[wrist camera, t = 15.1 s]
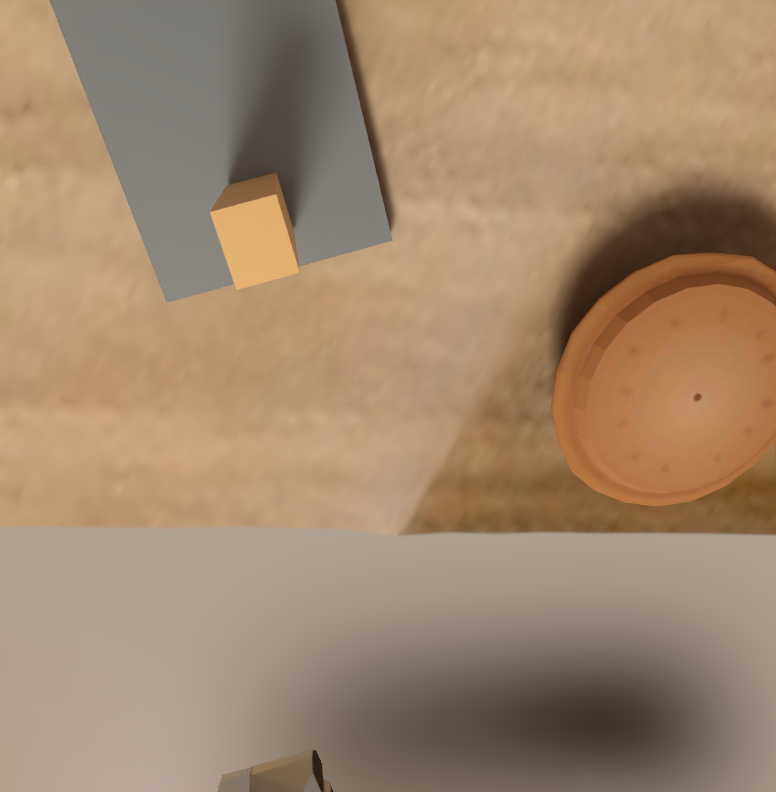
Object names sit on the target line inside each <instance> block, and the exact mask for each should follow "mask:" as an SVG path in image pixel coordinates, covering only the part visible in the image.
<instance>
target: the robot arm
mask: <svg viewBox="0 0 776 792" xmlns="http://www.w3.org/2000/svg"><path fill="white" fill-rule="evenodd" d="M218 792H333V789H332V787H331V784H330V782H328V781H326V780H324V779H323V768H322V762H321V760H320V758H319V755H318V753H317V751H316V750H311V751H307V752H303V753H300V754H296V755H292V756H289V757H285V758H281V759H278V760H274V761H270V762H267V763H263V764H259V765H256V766H253V767H250V768H246V769H243V770H239V771H236V772H232V773H228V774H225V775H223V776H222V778H221V781H220V783H219V786H218Z"/></svg>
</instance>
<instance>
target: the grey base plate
mask: <svg viewBox="0 0 776 792" xmlns="http://www.w3.org/2000/svg"><path fill="white" fill-rule="evenodd" d="M50 3H51V5H52V8H53V10H54V13H55V15H56V18H57V21H58V23H59V26H60V28H61V31H62V33H63V36H64V39H65V41H66V44H67V46H68V49H69V51H70V54H71V57H72V59H73V62H74V64H75V67H76V70H77V72H78V75H79V77H80V80H81V82H82V85H83V88H84V90H85V93H86V95H87V98H88V100H89V103H90V106H91V108H92V111H93V113H94V116H95V118H96V121H97V124H98V126H99V129H100V131H101V134H102V137H103V139H104V142H105V144H106V147H107V149H108V152H109V155H110V157H111V160H112V162H113V165H114V167H115V170H116V173H117V175H118V178H119V180H120V183H121V185H122V188H123V191H124V193H125V196H126V198H127V201H128V204H129V206H130V209H131V211H132V214H133V216H134V219H135V222H136V224H137V227H138V229H139V232H140V234H141V237H142V240H143V242H144V245H145V247H146V250H147V252H148V255H149V258H150V260H151V263H152V265H153V268H154V271H155V273H156V276H157V278H158V281H159V283H160V286H161V289H162V291H163V294H164V296H165V299H166V301H167V302H171V301H174V300H178V299H182V298H185V297H189V296H192V295H196V294H200V293H203V292H207V291H211V290H214V289H218V288H222V287H225V286H229V285H232V284H234V281H233V279H232V276H231V273H230V270H229V267H228V264H227V261H226V258H225V255H224V252H223V249H222V246H221V243H220V240H219V238H218V235H217V232H216V229H215V226H214V223H213V220H212V217H211V214H210V211H211V209H212V208H213V206H214V205H215V203H216V201H217V200H218V198H219V196H220V195H221V193H222V192H223V190H224V188H225V187H226V186H227V185H231V184H234V183H238V182H242V181H246V180H249V179H253V178H257V177H260V176H264V175H268V174H272V173H275V172H276V173H277V176H278V179H279V183H280V186H281V190H282V193H283V196H284V200H285V203H286V206H287V210H288V213H289V217H290V220H291V223H292V227H293V230H294V234H295V242H296V249H297V256H298V264H299V266H302V265H305V264H309V263H312V262H316V261H320V260H323V259H327V258H331V257H334V256H338V255H342V254H345V253H349V252H352V251H356V250H360V249H363V248H367V247H371V246H374V245H378V244H382V243H385V242H389V241H392V236H391V232H390V228H389V224H388V220H387V215H386V211H385V207H384V203H383V199H382V194H381V190H380V186H379V182H378V177H377V173H376V169H375V165H374V161H373V156H372V152H371V148H370V144H369V140H368V135H367V131H366V127H365V123H364V119H363V114H362V110H361V106H360V102H359V97H358V93H357V89H356V85H355V81H354V76H353V72H352V68H351V64H350V60H349V55H348V51H347V47H346V43H345V39H344V34H343V30H342V26H341V22H340V17H339V13H338V9H337V5H336V1H335V0H50Z"/></svg>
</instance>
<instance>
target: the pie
mask: <svg viewBox="0 0 776 792" xmlns="http://www.w3.org/2000/svg"><path fill="white" fill-rule="evenodd" d="M551 410H552V415H553V420H554V424H555V429H556V434H557V439H558V443H559V445H560V447H561V450H562V452H563V454H564V456H565V458H566V461H567V463H568V465H569V467H570V470H571V471H572V472H573V473H574V474H575V475H577V476H578V477H579V478H580V479H581V480H583V481H584V482H585V483H586V484H587V485H589V486H590V487H591V488H592V489H593V490H595V491H597V492H600V493H602V494H605V495H608V496H610V497H613V498H615V499H618V500H621V501H623V502H628V503H636V504H643V505H651V506H662V505H669V504H675V503H681V502H688V501H693V500H695V499H697V498H700V497H702V496H704V495H706V494H709V493H711V492H713V491H715V490H718V489H720V488H722V487H725V486H726V485H727V484H729V483H730V482H731V481H733V480H734V479H735V478H737V477H738V476H739V475H741V474H742V473H743V472H745V471H746V470H747V469H749V468H750V467H751V466H753V465H754V464H755V463H756V462H757V461H758V460H759V459H760V458H761V457H762V456H763V455H764V454H765V453H766V452H767V451H768V450H769V449H770V448H771V447H772V446H773V445H774V444H775V443H776V271H774V270H773V269H771V268H770V267H768V266H767V265H765V264H764V263H762V262H760V261H759V260H757V259H756V258H754V257H753V256H746V255H736V254H726V253H715V252H710V253H694V254H678V255H671V256H669V257H667V258H664V259H662V260H660V261H657V262H655V263H653V264H650V265H648V266H646V267H643V268H641V269H639V270H636V271H634V272H632V273H631V274H630V275H628V276H627V277H626V278H625V279H623V280H622V281H621V282H619V283H618V284H617V285H616V286H614V287H613V288H612V289H610V290H609V291H608V292H607V293H605V294H604V295H603V296H601V297H600V298H599V299H598V300H597V301H596V303H595V304H594V305H593V306H592V308H591V309H590V310H589V311H588V313H587V314H586V315H585V316H584V318H583V319H582V320H581V321H580V322H579V324H578V325H577V326H576V327H575V329H574V330H573V331H572V333H571V335H570V338H569V340H568V343H567V345H566V348H565V350H564V353H563V355H562V358H561V360H560V363H559V365H558V368H557V372H556V379H555V385H554V391H553V398H552V404H551Z"/></svg>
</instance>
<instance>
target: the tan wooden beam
mask: <svg viewBox="0 0 776 792" xmlns="http://www.w3.org/2000/svg"><path fill="white" fill-rule="evenodd" d="M210 214H211V217H212V220H213V223H214V226H215V229H216V232H217V235H218V238H219V240H220V243H221V246H222V249H223V252H224V255H225V258H226V261H227V264H228V267H229V270H230V273H231V276H232V279H233V281H234V284H235V287H236V290H238V289H242V288H245V287H249V286H253V285H256V284H260V283H264V282H267V281H271V280H274V279H278V278H282V277H285V276H289V275H293V274H296V273H300V271H299V264H298V256H297V249H296V242H295V234H294V230H293V227H292V223H291V220H290V217H289V213H288V210H287V206H286V203H285V200H284V196H283V193H282V190H281V186H280V183H279V179H278V176H277V173H276V172H275V173H272V174H268V175H264V176H260V177H257V178H253V179H249V180H246V181H242V182H238V183H234V184H231V185H227V186H226V187H225V188H224V190H223V192H222V193H221V195H220V196H219V198H218V200H217V201H216V203H215V205H214V206H213V208H212V209H211V211H210Z"/></svg>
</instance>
